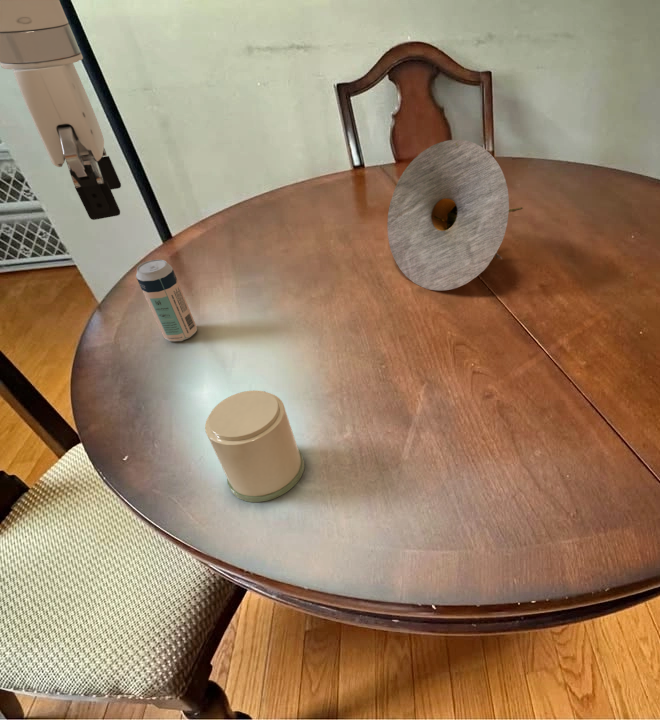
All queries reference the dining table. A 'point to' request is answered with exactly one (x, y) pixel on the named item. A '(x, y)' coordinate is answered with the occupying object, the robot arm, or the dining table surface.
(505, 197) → the disc
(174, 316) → the beer can
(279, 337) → the dining table surface
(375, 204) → the dining table surface
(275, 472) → the cup
